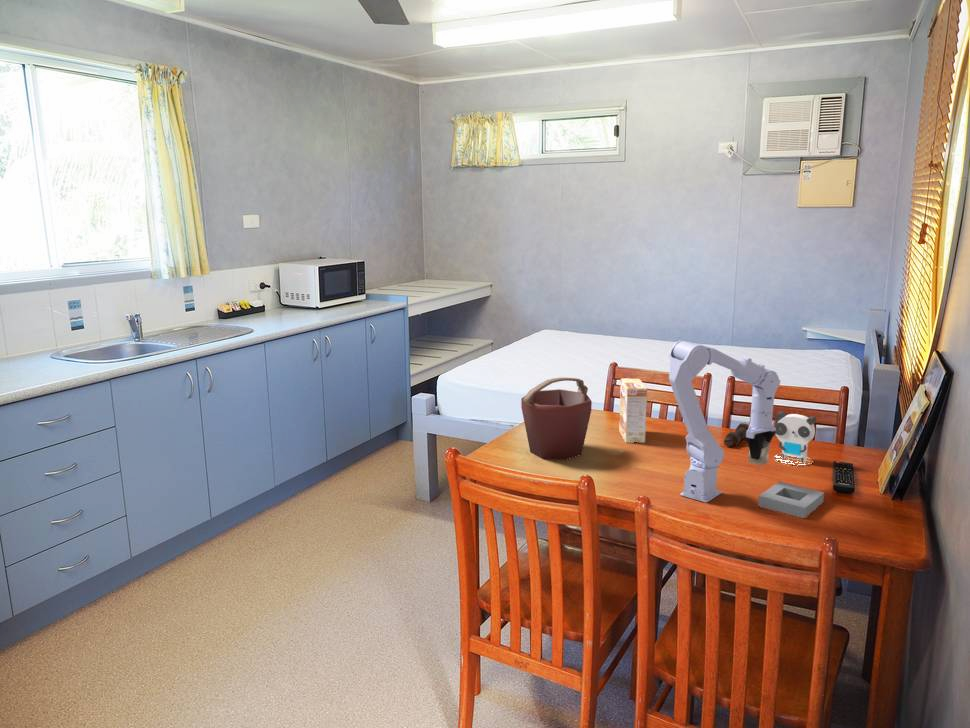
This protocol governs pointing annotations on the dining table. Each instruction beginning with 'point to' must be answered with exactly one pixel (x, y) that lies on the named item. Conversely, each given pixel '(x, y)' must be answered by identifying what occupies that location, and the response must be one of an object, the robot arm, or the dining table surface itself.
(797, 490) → the socket board
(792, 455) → the panda figurine
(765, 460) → the peg
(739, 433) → the dark brown cylinder
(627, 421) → the coffeecake box
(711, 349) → the robot arm
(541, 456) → the bucket
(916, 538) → the dining table surface
